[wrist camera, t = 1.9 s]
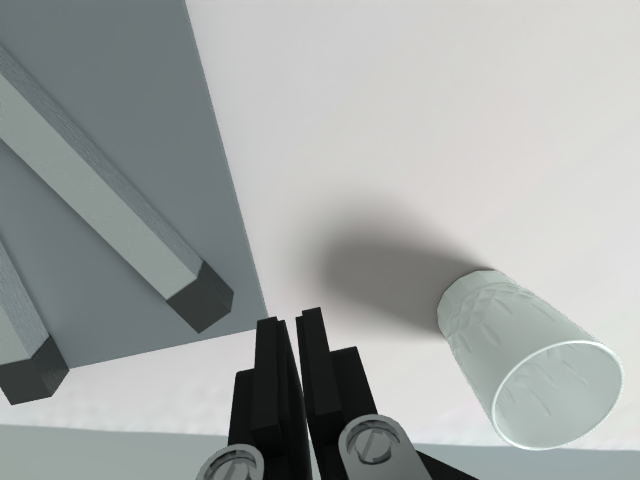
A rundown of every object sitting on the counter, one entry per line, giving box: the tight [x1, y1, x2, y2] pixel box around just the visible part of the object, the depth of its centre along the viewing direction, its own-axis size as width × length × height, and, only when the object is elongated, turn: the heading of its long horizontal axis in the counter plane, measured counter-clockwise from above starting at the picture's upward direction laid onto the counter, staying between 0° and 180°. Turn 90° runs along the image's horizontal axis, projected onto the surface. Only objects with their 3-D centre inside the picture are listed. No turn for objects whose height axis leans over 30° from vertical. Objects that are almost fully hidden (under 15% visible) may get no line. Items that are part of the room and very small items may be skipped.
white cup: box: [437, 271, 624, 450], centre depth 28 cm, size 8×8×10 cm
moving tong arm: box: [0, 45, 234, 334], centre depth 23 cm, size 25×5×3 cm, turn 35°
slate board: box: [0, 0, 269, 369], centre depth 25 cm, size 26×20×1 cm
